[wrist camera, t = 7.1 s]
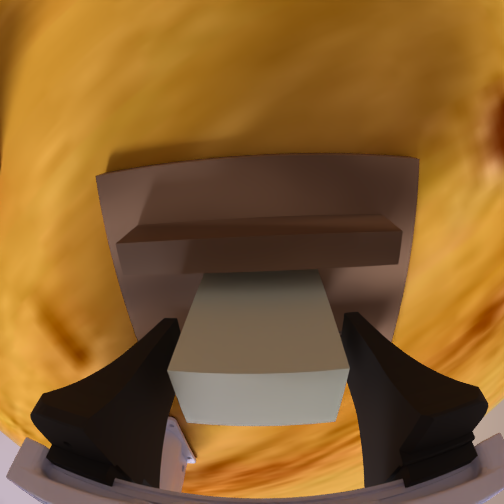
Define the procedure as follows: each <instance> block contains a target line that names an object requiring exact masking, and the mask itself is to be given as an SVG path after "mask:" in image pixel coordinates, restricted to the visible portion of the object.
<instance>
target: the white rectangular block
mask: <svg viewBox="0 0 504 504" xmlns="http://www.w3.org/2000/svg"><path fill="white" fill-rule="evenodd" d="M349 370H350V367H349V364H348V361H347V357H346V354H345V351H344V347H343V344H342V341H341V338H340V335H339V331H338V328H337V325H336V322H335V319H334V316H333V313H332V310H331V307H330V304H329V301H328V298H327V295H326V292H325V289H324V286H323V283H322V280H321V278H320V275H319V272H318V269H306V270H283V271H259V272H231V273H204V275H203V277H202V280H201V282H200V285H199V287H198V290H197V292H196V295H195V298H194V300H193V303H192V305H191V308H190V311H189V313H188V316H187V318H186V321H185V324H184V326H183V329H182V332H181V334H180V337H179V340H178V342H177V345H176V348H175V350H174V353H173V356H172V359H171V361H170V364H169V367H168V370H167V371H168V374H169V377H170V380H171V383H172V385H173V388H174V391H175V394H176V396H177V399H178V402H179V404H180V407H181V409H182V412H183V414H184V417H185V419H186V422H187V423H198V424H211V425H231V426H282V425H302V424H315V423H326V422H335V421H336V418H337V414H338V411H339V408H340V404H341V400H342V397H343V393H344V389H345V386H346V382H347V378H348V374H349Z"/></svg>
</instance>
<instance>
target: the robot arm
mask: <svg viewBox="0 0 504 504" xmlns="http://www.w3.org/2000/svg"><path fill="white" fill-rule="evenodd" d="M180 334H181V332H180V328H179V324H178V319H177V318H164V319H163V320H161V321H160V322H159V323H158V324H157V325H156V326H155V327H154V328H153V329H151V330H150V331H149V332H148V333H147V334H146V335H145V336H144V337H143V338H142V339H140V340H139V341H138V342H137V343H136V344H135V345H134V346H132V347H131V348H130V349H129V350H127V351H126V352H125V353H124V354H123V355H121V356H120V357H119V358H117V359H116V360H115V361H113V362H112V363H110V364H109V365H107V366H106V367H104V368H102V369H101V370H99V371H97V372H95V373H94V374H92V375H90V376H88V377H86V378H84V379H82V380H80V381H78V382H76V383H73V384H71V385H68V386H66V387H63V388H60V389H57V390H54V391H50V392H47V393H43V394H42V396H41V398H40V399H39V401H38V402H37V404H36V406H35V407H34V409H33V411H32V412H31V414H30V416H31V420H32V422H33V423H34V425H35V426H36V427H37V429H38V430H39V431H40V432H41V433H42V434H43V435H44V436H45V437H46V438H47V439H48V441H49V442H50V443H51V444H52V446H51V448H50V449H49V448H47V447H46V446H44V445H42V444H40V443H38V442H36V441H34V440H32V439H30V438H26V439H25V440H24V442H23V444H22V446H21V448H20V450H19V452H18V454H17V456H16V457H15V459H14V461H13V463H12V465H11V467H10V470H9V472H8V474H7V476H6V477H7V479H9V480H10V481H12V482H13V483H14V484H15V485H17V486H18V487H19V488H21V489H22V490H23V491H25V492H26V493H28V494H29V495H30V496H32V497H33V498H35V499H37V500H38V501H39V502H41V503H43V504H483V503H485V502H486V501H488V500H489V499H491V498H492V497H494V496H495V495H497V494H498V493H499V492H501V491H502V490H504V439H503V437H502V435H501V433H498V434H496V435H494V436H492V437H490V438H488V439H486V440H484V441H482V442H481V443H479V444H477V445H476V446H475V447H474V445H473V443H472V441H473V440H474V439H475V436H474V434H473V432H472V431H473V430H474V428H475V427H476V426H477V425H478V423H479V422H480V421H481V420H482V418H483V417H484V415H485V414H486V412H487V409H488V402H487V401H486V399H485V397H484V395H483V394H482V392H481V390H480V389H479V387H476V386H473V385H470V384H466V383H463V382H460V381H457V380H454V379H452V378H449V377H447V376H444V375H442V374H440V373H438V372H436V371H434V370H432V369H430V368H428V367H426V366H424V365H423V364H421V363H419V362H418V361H416V360H415V359H413V358H412V357H410V356H409V355H407V354H406V353H404V352H403V351H402V350H400V349H399V348H398V347H396V346H395V345H394V344H393V343H391V342H390V341H389V340H388V339H387V338H386V337H384V336H383V335H382V334H381V333H380V332H379V331H378V330H377V329H376V328H375V327H374V326H372V325H371V324H370V323H369V322H368V321H367V320H366V319H365V318H364V317H363V316H362V315H361V314H360V313H359V312H348V313H344V319H343V327H342V333H341V341H342V344H343V347H344V351H345V354H346V357H347V361H348V364H349V367H350V370H349V374H348V378H347V383H348V386H349V389H350V392H351V396H352V399H353V402H354V405H355V409H356V413H357V418H358V424H359V430H360V437H361V445H362V454H363V465H364V486H365V488H362V489H357V490H352V491H346V492H340V493H333V494H325V495H317V496H307V497H294V498H270V499H250V498H226V497H213V496H203V495H195V494H187V493H181V491H182V485H183V480H184V475H185V470H186V465H187V463H196V458H195V457H194V455H193V453H192V451H191V449H190V447H189V445H188V443H187V441H186V439H185V437H184V435H183V433H182V431H181V429H180V427H179V425H178V423H177V421H176V419H175V418H173V417H168V416H169V412H170V409H171V406H172V403H173V400H174V396H175V391H174V388H173V385H172V383H171V380H170V377H169V374H168V371H167V370H168V367H169V364H170V361H171V359H172V356H173V353H174V350H175V348H176V345H177V342H178V340H179V337H180Z"/></svg>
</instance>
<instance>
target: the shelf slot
mask: <svg viewBox="0 0 504 504" xmlns="http://www.w3.org/2000/svg"><path fill="white" fill-rule="evenodd" d="M418 177H419V159H417V158H413V157H407V156H393V155H376V154H350V153H290V154H263V155H245V156H231V157H219V158H207V159H197V160H188V161H180V162H171V163H164V164H156V165H149V166H143V167H136V168H130V169H124V170H118V171H113V172H107V173H103V174H100V175H98V176H96V182H97V188H98V194H99V199H100V205H101V210H102V215H103V220H104V225H105V230H106V234H107V239H108V243H109V247H110V251H111V255H112V259H113V263H114V267H115V271H116V274H117V278H118V281H119V285H120V288H121V292H122V295H123V298H124V302H125V305H126V308H127V311H128V314H129V317H130V320H131V323H132V326H133V329H134V332H135V335H136V337H137V340H138V341H139V340H140V339H142V338H143V337H144V336H145V335H146V334H147V333H148V332H149V331H150V330H151V329H153V328H154V327H155V326H156V325H157V324H158V323H159V322H160V321H161V320H163V319H164V318H177V319H178V324H179V328H180V332H182V329H183V326H184V324H185V321H186V318H187V316H188V313H189V311H190V308H191V305H192V303H193V300H194V298H195V295H196V292H197V290H198V287H199V285H200V282H201V280H202V277H203V275H204V273H231V272H259V271H283V270H306V269H318V272H319V275H320V278H321V280H322V283H323V286H324V289H325V292H326V295H327V298H328V301H329V304H330V307H331V310H332V313H333V316H334V319H335V322H336V325H337V328H338V331H342V327H343V319H344V313H348V312H359V313H360V314H361V315H362V316H363V317H364V318H365V319H366V320H367V321H368V322H369V323H370V324H371V325H372V326H374V327H375V328H376V329H377V330H378V331H379V332H380V333H381V334H382V335H383V336H384V337H386V338H387V339H388V340H389V341H390V342H391V341H392V337H393V334H394V330H395V326H396V322H397V318H398V314H399V310H400V306H401V301H402V297H403V292H404V287H405V282H406V277H407V271H408V266H409V260H410V254H411V247H412V240H413V232H414V224H415V215H416V205H417V193H418Z"/></svg>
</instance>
